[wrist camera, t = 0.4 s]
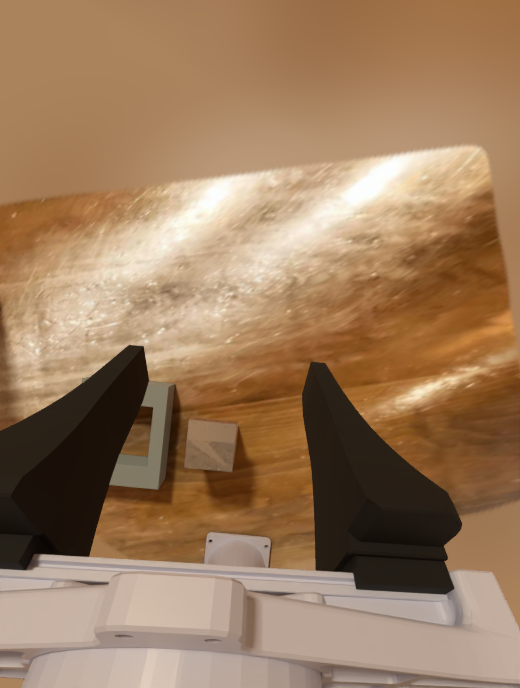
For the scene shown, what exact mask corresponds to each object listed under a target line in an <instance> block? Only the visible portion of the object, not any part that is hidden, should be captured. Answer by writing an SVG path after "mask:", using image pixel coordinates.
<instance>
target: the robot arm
mask: <svg viewBox="0 0 520 688" xmlns="http://www.w3.org/2000/svg"><path fill="white" fill-rule="evenodd" d="M148 383H149V377H148V371H147V365H146V359H145V352H144V346H134V345H129V346H127V347H126V348H125V349H124V350H122V351H121V352H120V353H119V354H118V355H117V356H115V357H114V358H113V359H112V360H111V361H109V362H108V363H107V364H106V365H105V366H103V367H102V368H101V369H100V370H99V371H97V372H96V373H95V374H94V375H92V376H91V377H90V378H89V379H87V380H86V381H85V382H83V383H82V384H80V385H79V386H78V387H76V388H75V389H74V390H72V391H71V392H69V393H68V394H66V395H65V396H63V397H62V398H60V399H59V400H57V401H56V402H54V403H52V404H51V405H49V406H47V407H46V408H44V409H42V410H40V411H39V412H37V413H35V414H33V415H31V416H29V417H28V418H26V419H24V420H22V421H20V422H18V423H16V424H14V425H12V426H10V427H8V428H6V429H4V430H2V431H0V677H2V678H14V679H25V680H24V682H23V685H22V687H21V688H520V629H519V627H518V625H517V622H516V620H515V618H514V616H513V614H512V612H511V610H510V608H509V605H508V603H507V601H506V599H505V597H504V595H503V593H502V591H501V589H500V587H499V584H498V582H497V580H496V578H495V576H494V574H493V573H491V572H490V571H478V570H452V571H449V572H448V570H447V567H446V564H445V562H444V561H446V560H447V559H448V557H447V554H446V551H445V548H444V545H445V544H446V543H447V542H449V541H450V540H451V539H452V538H453V537H455V536H456V535H457V533H458V532H459V531H460V530H461V527H462V522H461V520H460V518H459V515H458V513H457V511H456V508H455V506H454V504H453V502H452V500H451V499H450V497H449V495H448V493H447V492H446V491H445V490H443V489H442V488H440V487H439V486H438V485H436V484H435V483H434V482H432V481H431V480H429V479H428V478H427V477H425V476H424V475H423V474H421V473H420V472H419V471H418V470H416V469H415V468H414V467H413V466H411V465H410V464H409V463H408V462H406V461H405V460H404V459H403V458H402V457H401V456H400V455H398V454H397V453H396V452H395V451H394V450H393V449H392V448H391V447H390V446H389V445H388V444H387V443H385V442H384V441H383V440H382V439H381V438H380V437H379V436H378V434H377V433H376V432H375V431H374V430H373V429H372V428H371V427H370V426H369V425H368V424H367V422H366V421H365V420H364V419H363V418H362V416H361V415H360V414H359V413H358V411H357V410H356V409H355V407H354V406H353V405H352V403H351V402H350V401H349V399H348V398H347V396H346V395H345V393H344V392H343V391H342V389H341V388H340V386H339V385H338V383H337V381H336V380H335V378H334V377H333V375H332V373H331V372H330V370H329V369H328V367H327V365H326V364H325V363H318V362H311V364H310V367H309V371H308V375H307V378H306V382H305V386H304V390H303V393H302V403H303V418H304V425H305V431H306V437H307V443H308V449H309V455H310V461H311V469H312V481H313V498H314V520H315V559H316V571H313V570H296V569H280V568H268V565H269V556H270V546H271V540H270V539H269V538H268V537H258V536H248V535H237V534H227V533H217V532H209V533H208V535H207V541H206V550H205V560H204V564H197V563H180V562H164V561H147V560H130V559H113V558H97V557H89V555H90V551H91V547H92V543H93V539H94V535H95V532H96V528H97V524H98V521H99V517H100V514H101V510H102V507H103V503H104V500H105V497H106V493H107V490H108V487H109V484H110V481H111V478H112V475H113V472H114V469H115V466H116V463H117V460H118V457H119V454H120V452H121V449H122V447H123V445H124V442H125V440H126V438H127V436H128V434H129V431H130V429H131V427H132V425H133V423H134V420H135V418H136V416H137V414H138V412H139V409H140V407H141V405H142V403H143V400H144V396H145V393H146V390H147V386H148ZM209 540H212V542H210V541H209ZM265 545H268V547H265Z"/></svg>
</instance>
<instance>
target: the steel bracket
mask: <svg viewBox="0 0 520 688" xmlns="http://www.w3.org/2000/svg"><path fill="white" fill-rule="evenodd" d="M238 428H239V426H237V422H232V421H222V420H212V419H202V418H192V417H191V418H190V419H189V425H188V434H187V444H186V454H185V464H184V468H194V469H204V470H215V471H225V472H232V469H233V464H234V459H235V453H236V447H237V437H238Z"/></svg>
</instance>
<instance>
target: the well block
mask: <svg viewBox="0 0 520 688" xmlns="http://www.w3.org/2000/svg"><path fill="white" fill-rule="evenodd" d="M89 378H90V377H87V378H82V383H83V382H85V381H86V380H87V379H89ZM174 390H175V384H172V383H162V382H153V381H149V383H148V386H147V390H146V393H145V396H144V400H143V403H142V405H141V406H147V407H153V416H152V426H151V435H150V445H149V455H148V457H144V456H134V455H124V454H119V457H118V460H117V463H116V466H115V469H114V472H113V475H112V478H111V481H110V484H109V485H116V486H126V487H136V488H147V489H157V490H158V489H159V487H160V486H161V484H162V483H163V481H164V480H165V477H166V468H167V458H168V448H169V439H170V429H171V419H172V410H173V400H174Z"/></svg>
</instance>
